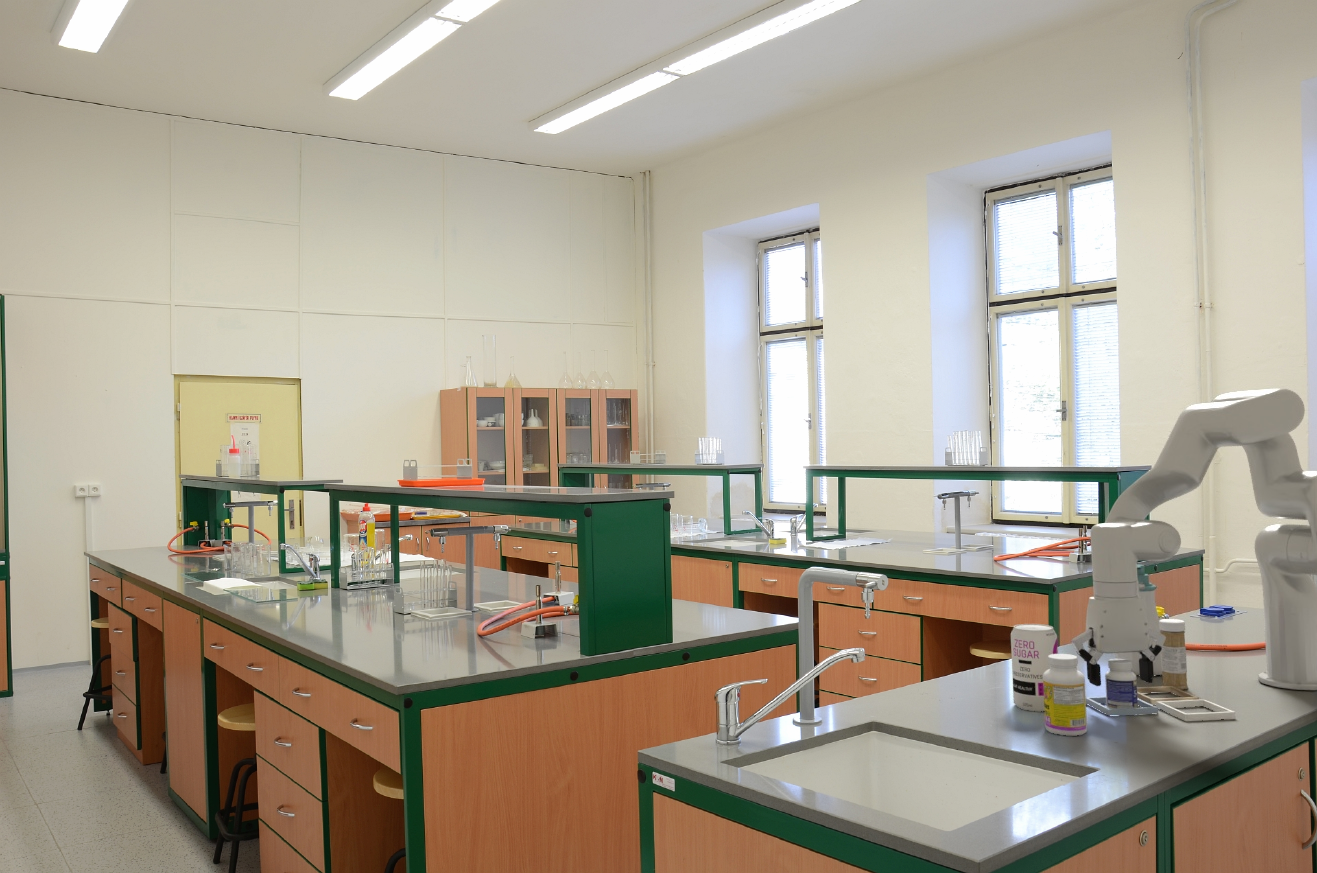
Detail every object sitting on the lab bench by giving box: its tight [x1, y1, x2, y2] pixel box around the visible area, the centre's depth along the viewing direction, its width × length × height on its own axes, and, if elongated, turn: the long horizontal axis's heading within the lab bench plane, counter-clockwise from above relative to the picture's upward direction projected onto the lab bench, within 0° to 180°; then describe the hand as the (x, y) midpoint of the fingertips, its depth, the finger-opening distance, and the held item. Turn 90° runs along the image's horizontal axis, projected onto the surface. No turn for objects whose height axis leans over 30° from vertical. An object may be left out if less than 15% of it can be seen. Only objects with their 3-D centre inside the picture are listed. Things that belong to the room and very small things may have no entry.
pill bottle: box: [1104, 658, 1139, 709], centre depth 177 cm, size 5×5×9 cm
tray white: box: [1156, 698, 1236, 722], centre depth 172 cm, size 9×9×1 cm
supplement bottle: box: [1043, 653, 1088, 737], centre depth 164 cm, size 7×7×13 cm
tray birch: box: [1137, 685, 1200, 705], centre depth 183 cm, size 9×9×1 cm
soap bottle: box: [1114, 563, 1163, 676], centre depth 205 cm, size 10×10×23 cm
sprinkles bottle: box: [1159, 618, 1189, 691], centre depth 191 cm, size 5×5×14 cm
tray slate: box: [1086, 696, 1159, 717], centre depth 177 cm, size 9×9×1 cm
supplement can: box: [1010, 623, 1059, 713], centre depth 180 cm, size 8×8×15 cm
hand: (1120, 683), depth 177 cm, fingers open, 9 cm apart
